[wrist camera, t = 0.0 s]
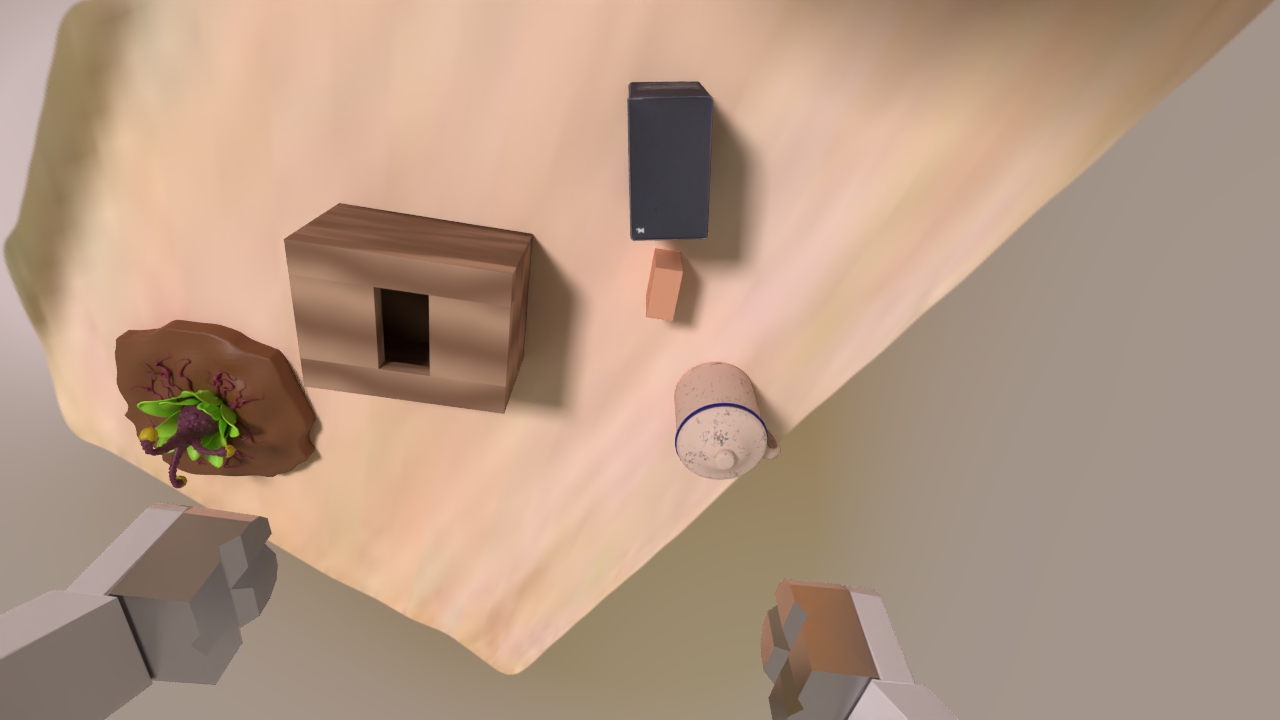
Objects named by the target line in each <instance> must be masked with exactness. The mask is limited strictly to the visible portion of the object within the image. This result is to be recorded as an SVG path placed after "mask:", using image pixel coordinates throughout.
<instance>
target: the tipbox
mask: <svg viewBox="0 0 1280 720" xmlns="http://www.w3.org/2000/svg"><path fill="white" fill-rule="evenodd" d="M532 235H533V234H529V233H523V232H517V231H510V230H504V229H498V228H492V227H485V226H479V225H473V224H466V223H460V222H454V221H448V220H441V219H435V218H429V217H422V216H416V215H410V214H403V213H397V212H391V211H385V210H378V209H372V208H366V207H359V206H353V205H347V204H341V203H339V204H337V205H336V206H334V207H333V208H331V209H330V210H328V211H327V212H325V213H323V214H322V215H320V216H319V217H317V218H316V219H314V220H313V221H311V222H310V223H308V224H307V225H305V226H303V227H302V228H300V229H299V230H297V231H296V232H294V233H293V234H291V235H290V236H288V237H287V238H285V239H284V243H285V250H286V258H287V265H288V272H289V279H290V287H291V294H292V301H293V308H294V316H295V323H296V330H297V337H298V345H299V352H300V359H301V366H302V373H303V381H304V386H305V387H313V388H320V389H327V390H335V391H342V392H349V393H357V394H364V395H371V396H379V397H386V398H393V399H401V400H408V401H415V402H422V403H430V404H437V405H444V406H452V407H459V408H466V409H474V410H481V411H488V412H496V413H503V414H504V413H505V410H506V407H507V404H508V401H509V398H510V395H511V392H512V389H513V387H514V384H515V381H516V378H517V375H518V372H519V369H520V366H521V363H522V361H523V353H524V339H525V326H526V313H527V300H528V287H529V274H530V261H531V248H532Z"/></svg>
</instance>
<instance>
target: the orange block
mask: <svg viewBox="0 0 1280 720" xmlns="http://www.w3.org/2000/svg"><path fill="white" fill-rule="evenodd" d="M682 275H683V267H682V260H681V253H680V252H675V251H669V250H663V249H656V248H655V251H654V256H653V262H652V267H651V273H650V278H649V284H648V289H647V294H646V317H649V318H656V319H662V320H669V321H673V317H674V313H675V308H676V303H677V299H678V294H679V289H680V284H681V280H682Z"/></svg>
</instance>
